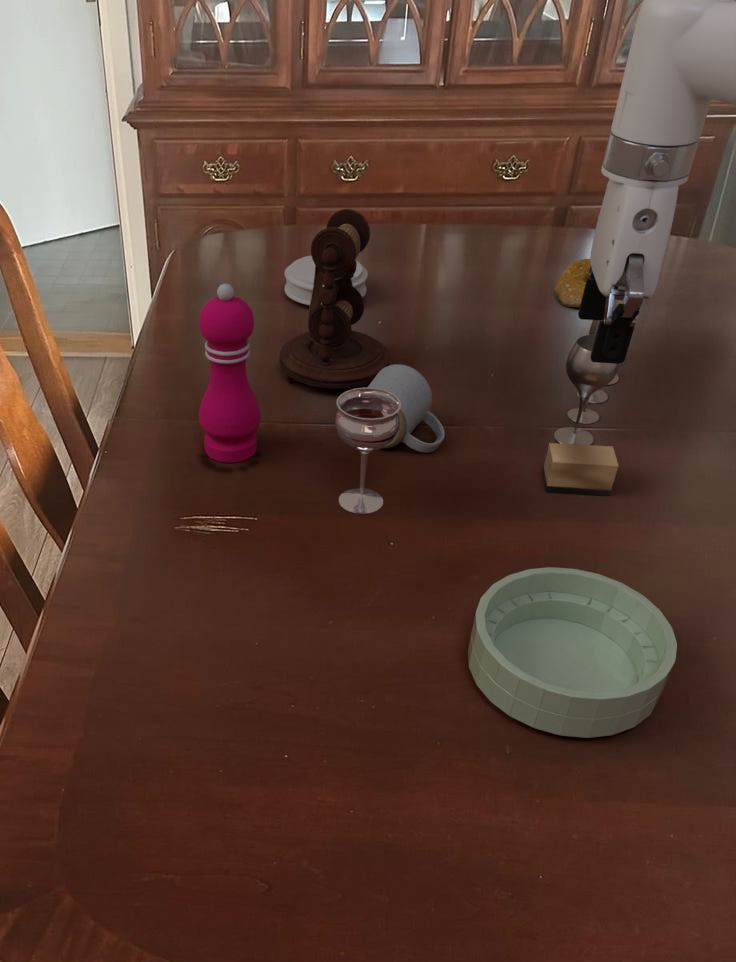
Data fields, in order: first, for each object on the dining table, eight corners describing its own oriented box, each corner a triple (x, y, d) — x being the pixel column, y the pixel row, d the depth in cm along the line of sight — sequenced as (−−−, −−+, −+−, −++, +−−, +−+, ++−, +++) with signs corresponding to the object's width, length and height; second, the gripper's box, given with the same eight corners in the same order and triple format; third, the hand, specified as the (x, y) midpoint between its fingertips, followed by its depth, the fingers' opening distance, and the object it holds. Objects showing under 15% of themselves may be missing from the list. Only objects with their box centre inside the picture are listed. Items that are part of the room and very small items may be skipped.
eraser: (604, 476, 106) (613, 446, 103) (609, 496, 103) (618, 465, 100) (542, 472, 107) (549, 442, 104) (545, 492, 104) (552, 461, 101)
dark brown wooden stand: (298, 341, 132) (301, 192, 118) (399, 356, 128) (415, 204, 115) (264, 388, 122) (264, 232, 108) (373, 406, 118) (387, 247, 104)
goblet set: (590, 348, 129) (614, 251, 120) (632, 356, 128) (660, 258, 119) (544, 443, 111) (568, 338, 102) (593, 454, 109) (622, 348, 100)
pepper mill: (195, 463, 109) (185, 296, 95) (206, 432, 114) (197, 269, 100) (256, 467, 108) (254, 299, 94) (264, 435, 113) (263, 272, 100)
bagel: (538, 299, 142) (545, 268, 138) (579, 279, 147) (586, 249, 144) (595, 319, 136) (603, 287, 133) (635, 298, 142) (644, 267, 138)
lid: (304, 274, 150) (305, 242, 146) (377, 287, 145) (380, 255, 142) (270, 304, 141) (270, 271, 138) (347, 318, 137) (349, 285, 134)
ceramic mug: (345, 444, 111) (350, 386, 106) (371, 413, 117) (377, 356, 111) (429, 466, 108) (438, 408, 103) (451, 434, 113) (461, 376, 108)
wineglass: (320, 491, 104) (324, 394, 96) (374, 478, 106) (383, 382, 98) (346, 524, 100) (353, 425, 91) (402, 510, 101) (413, 412, 93)
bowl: (640, 619, 88) (656, 574, 84) (675, 752, 76) (696, 707, 72) (463, 605, 90) (472, 561, 86) (470, 734, 78) (480, 689, 74)
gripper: (714, 191, 76) (652, 382, 87) (673, 131, 88) (624, 306, 100) (620, 187, 76) (571, 377, 88) (592, 128, 89) (553, 302, 101)
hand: (599, 339), depth 94 cm, fingers open, 9 cm apart
